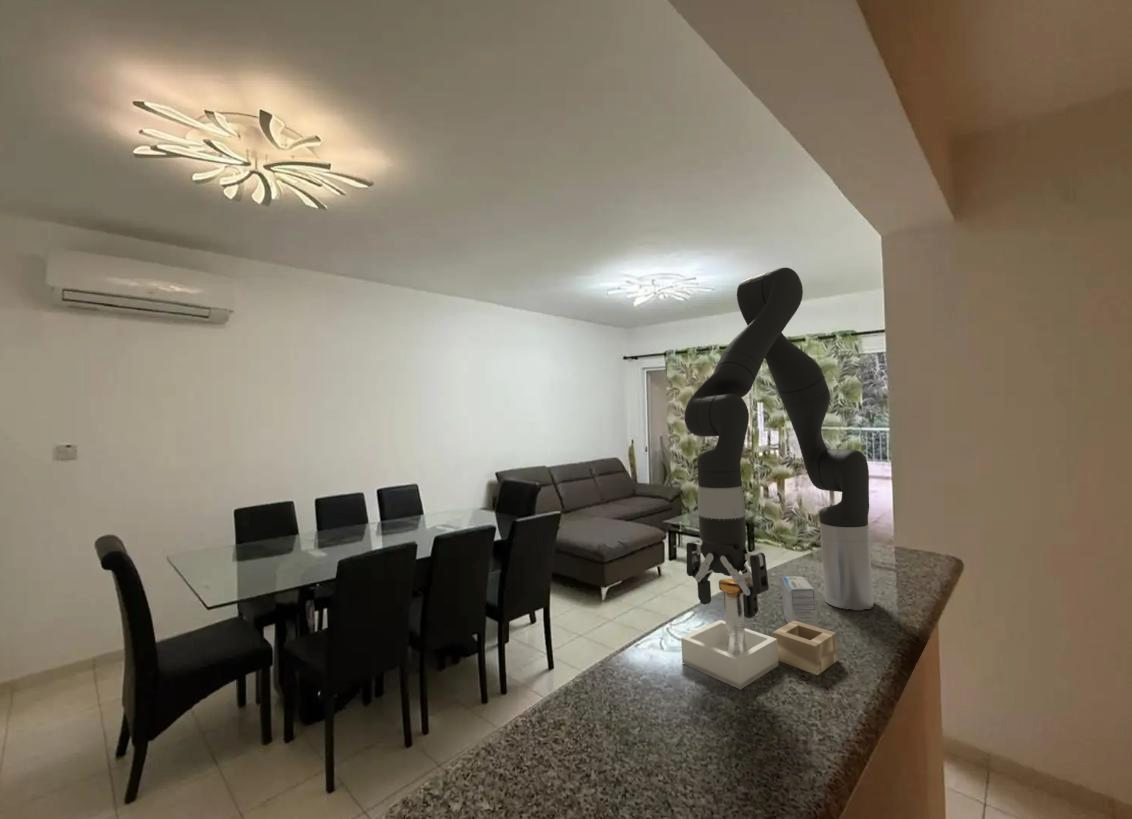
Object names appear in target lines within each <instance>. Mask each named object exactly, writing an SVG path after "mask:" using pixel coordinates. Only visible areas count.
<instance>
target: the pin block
mask: <svg viewBox="0 0 1132 819" xmlns="http://www.w3.org/2000/svg"><path fill="white" fill-rule="evenodd" d="M772 637H773V638H776V639H777V645H778V661H779V662H781V663H784V664H786V665H788V666H791V667H794V668H796V669H799V670H802V671H805V672H808V673H810V674H813V675H816V676H818V675H820V674H822V673H823V672H824V671H826V670H827V669H828V668H830V667H831V666H832V665H834V664H836V663H837V662H838V661H839V656H838V655H839V654H838V653H839V652H838V639H837V638H838V637H837V632H835V631H830V630H827V629H824V628H821V627H819V626H818V627H815V626H811V625H808V624H804V623H801V622H798V621H792V622H790V623H786V624H785V625H783V626H782V627H779V628H778V629H776V630H774V631H772Z"/></svg>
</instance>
